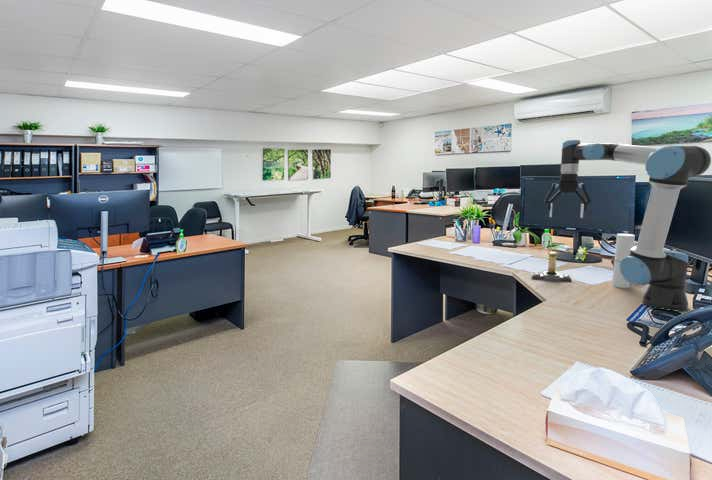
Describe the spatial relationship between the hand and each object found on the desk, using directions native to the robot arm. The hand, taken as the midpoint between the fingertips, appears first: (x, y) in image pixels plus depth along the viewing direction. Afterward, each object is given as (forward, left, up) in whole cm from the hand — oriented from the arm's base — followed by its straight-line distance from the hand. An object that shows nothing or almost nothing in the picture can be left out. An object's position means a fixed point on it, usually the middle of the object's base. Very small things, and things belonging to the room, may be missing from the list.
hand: (565, 217), depth 201 cm
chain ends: (+6, -2, -33) cm, 33 cm away
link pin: (+6, -2, -33) cm, 33 cm away
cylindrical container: (-22, -14, -33) cm, 42 cm away
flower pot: (-18, -29, -33) cm, 48 cm away
